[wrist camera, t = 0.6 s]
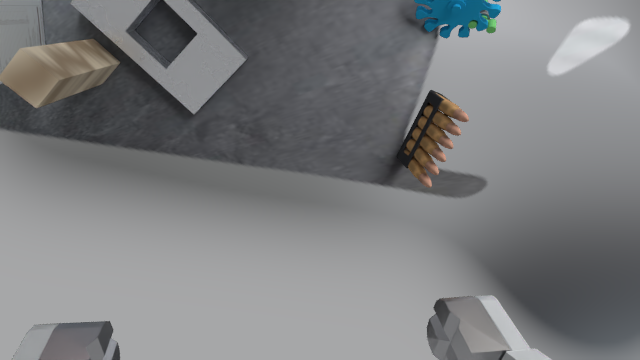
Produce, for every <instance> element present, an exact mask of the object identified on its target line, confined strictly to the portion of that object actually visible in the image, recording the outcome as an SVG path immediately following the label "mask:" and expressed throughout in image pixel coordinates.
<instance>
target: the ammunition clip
mask: <svg viewBox="0 0 640 360" xmlns="http://www.w3.org/2000/svg"><path fill="white" fill-rule="evenodd" d="M439 110H440V111H442V112H443V113H444V114H443V113H442V112H440V111H439ZM448 116H449V117H452V118H455V119H457V120H459V121H462V122H467V121H469V118H468V116H467V114H466V113H465V112H464V111H462V110H461V109H460V108H459V107H458V106H457V105H456V104H454V103H452V102H451V101H450V100H448V99H447V98H446V97H444V96H443V95H442V94H440V93H437V92H435V91H433V90H430V91H429V93H428V95H427V97H426V99H425V101H424V103H423V105H422V107H421V109H420V111H419V113H418V115H417V117H416V119H415V121H414V123H413V125H412V127H411V129H410V131H409V133H408V134H407V136H406V138H405V140H404V142H403V144H402V146H401V148H400V150H399V152H398V154H397V158H398V159H399V160H400V161H401V162H402V164H403V165H404V166H405V167H406V168H409V169H410V171H411V172H412V174H413V175H414V176H415V177H416V178H417V179H418V180H419V181H420V182H421V183H422V184H423V185H425V186H426V187H431V186H432V184H431V180H430V178H429V177H428V175H427V173H426V171H425V169H424V167H425V168H426V169H427V170H428V171H429V172H431V173H432V174H434V175H438V174H439V171H438V168H437V166H436V165H435V163H434V162H433V160H432V158H431V156H430V155H432V156H433V157H435V158H436V159H437V160H439V161H441V162H445V161H446V157H445V154H444V153H443V152H442V151H441V149H440V148H439V146H438V145H437V143H436V142H438V143H439V144H441V145H442V146H444V147H445V148H449V149H452V148H453V143H452V141H451V140H450V139H449V138H448V137H447V135H446V134H445V132H444V131H443V130H446V131H447V132H449V133H451V134H453V135H461V131H460V129H459V128H458V126H457V125H455V123H453V121H452V120H451V119H450V118H449V117H448ZM434 123H435V124H436V125H435V124H434ZM441 129H443V130H441ZM428 153H429V154H430V155H429V154H428ZM423 166H424V167H423Z"/></svg>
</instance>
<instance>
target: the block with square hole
mask: <svg viewBox="0 0 640 360" xmlns="http://www.w3.org/2000/svg"><path fill="white" fill-rule="evenodd" d="M159 1H160V0H72V2H71V3H70V4H71V5H73V6H74V7H75V8H76V9H77V10H78V11H79V12H80V13H81V14H83V15H84V16H85V17H86V18H87V19H88V20H89V21H90V22H91V23H93V24H94V25H95V26H96V27H97V28H98V29H99V30H100V31H102V32H103V33H104V34H105V35H106V36H107V37H108V38H109V39H110V40H112V41H113V42H114V43H115V44H116V45H117V46H118V47H119V48H120V49H122V50H123V51H124V52H125V53H126V54H127V55H128V56H129V57H130V58H132V59H133V60H134V61H135V62H136V63H137V64H138V65H139V66H140V67H142V68H143V69H144V70H145V71H146V72H147V73H148V74H149V75H150V76H152V77H153V78H154V79H155V80H156V81H157V82H158V83H159V84H161V85H162V86H163V87H164V88H165V89H166V90H167V91H168V92H169V93H171V94H172V95H173V96H174V97H175V98H176V99H177V100H178V101H179V102H181V103H182V104H183V105H184V106H185V107H186V108H187V109H188V110H189V111H191V112H192V113H193V114H195V113H196V112H197V111H198V110H199V109H200V108H201V107H202V106H203V105H204V104H205V103H206V102H207V101H208V99H209V98H210V97H211V96H212V95H213V94H214V93H215V92H216V91H217V90H218V89H219V88H220V87H221V86H222V85H223V84H224V83H225V82H226V81H227V80H228V79H229V77H230V76H231V75H232V74H233V73H234V72H235V71H236V70H237V69H238V68H239V67H240V66H241V65H242V64H243V63H244V62H245V61H246V60H247V59H248V58H249V57H248V56H247V55H246V54H245V53H244V52H243V50H242V49H241V48H240V47H239V46H238V45H237V44H236V43H235V42H234V41H233V40H232V39H231V38H230V37H229V36H228V35H227V34H226V33H225V32H224V31H223V30H222V29H221V28H220V27H219V26H218V25H217V24H216V23H215V22H214V21H213V20H212V19H211V18H210V17H209V16H208V15H207V14H206V13H205V12H204V11H203V10H202V9H201V7H200V6H199V5H198V4H197V3H196V2H195V1H194V0H164V1H165V2H166V3H167V4H168V5H169V6H170V7H171V8H172V9H173V10H174V11H175V12H176V13H177V14H178V15H179V16H180V17H181V18H182V19H183V20H184V21H185V22H186V23H187V24H188V25H189V26H190V27H191V28H192V29H193V30H194V31H195V32H196V33H197V35H196V36H195V37H194V39H193V40H192V41H191V42H190V43H189V44H188V45H187V46H186V48H185V49H184V50H183V51H182V52H181V53H180V54H179V55H178V57H177V58H176V59H175V60H174V61H173V62H172V63H169V62H168V61H167V60H166V59H165V58H164V57H163V56H162V55H161V54H160V53H159V52H158V51H157V50H156V49H154V48H153V47H152V46H151V45H150V44H149V43H148V42H147V41H146V40H145V39H144V38H143V37H142V36H140V35H139V34H138V33H137V32H136V31H135V30H136V28H137V27H138V26H139V25H140V24H141V22H142V21H143V20H144V19H145V18H146V16H147V15H148V14H149V13H150V12H151V10H152V9H153V8H154V7H155V6H156V4H157V3H158V2H159Z"/></svg>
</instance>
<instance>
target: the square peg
mask: <svg viewBox="0 0 640 360" xmlns="http://www.w3.org/2000/svg"><path fill="white" fill-rule="evenodd" d="M120 63H121V62H120V61H118V60H117V59H116V58H115V57H114V56H113V55H112V54H111V53H109V52H108V51H107V50H106V49H105V48H104V47H103V46H101V45H100V44H99V43H98V42H97V41H96V40H95V39H87V40H79V41H72V42H64V43H56V44H49V45H41V46H33V47H25V48H20V49H19V50H18V52H17V53H16V54H15V56H14V57H13V58H12V60H11V61H10V62H9V64H8V65H7V66H6V68H5V69H4V70H3V72H2V73H1V74H0V81H1V82H3V83H4V84H5V85H6V86H8V87H9V88H10V89H12V90H13V91H14V92H16V93H17V94H18V95H19V96H21V97H22V98H23V99H25V100H26V101H27V102H29V103H30V104H31V105H32V106H34V107H35V108H39V107H42V106H44V105H47V104H50V103H53V102H55V101H58V100H61V99H63V98H66V97H69V96H72V95H74V94H77V93H80V92H82V91H85V90H88V89H90V88H93V87H96V86H99V85H101V84H103V83H104V82H105V80H106V79H107V78H108V77H109V76H110V75H111V73H112V72H113V71H114V70H115V69H116V68H117V66H118V65H119V64H120Z"/></svg>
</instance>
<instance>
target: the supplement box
mask: <svg viewBox="0 0 640 360" xmlns="http://www.w3.org/2000/svg"><path fill="white" fill-rule="evenodd" d="M41 45H45V34H44V23H43V13H42V2H41V0H0V74H1V73H2V72H3V70H4V69H5V68H6V66H7V65H8V64H9V62H10V61H11V60H12V58H13V57H14V56H15V54H16V53H17V52H18V50H19V49H20V48H25V47H33V46H41ZM0 84H3V82H1V81H0Z"/></svg>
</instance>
